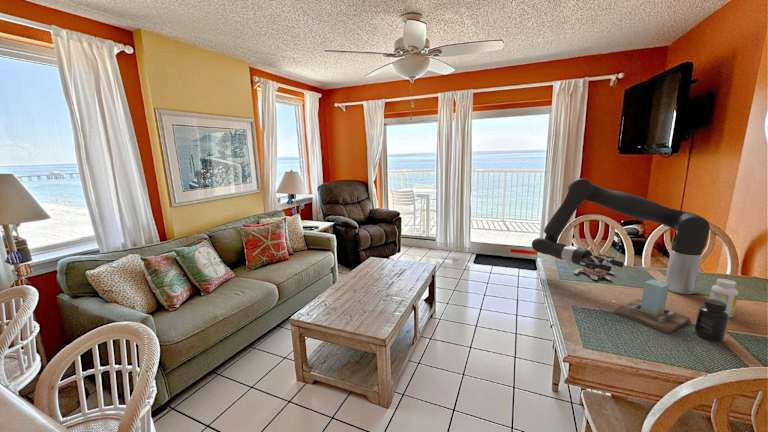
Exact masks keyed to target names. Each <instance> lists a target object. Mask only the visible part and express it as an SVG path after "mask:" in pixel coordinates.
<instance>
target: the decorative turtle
mask: <svg viewBox="0 0 768 432" xmlns="http://www.w3.org/2000/svg"><path fill="white" fill-rule="evenodd" d="M590 267H592V266H590ZM581 271H583V273H585V274H586V275H587V276H589V277H590V279H592V280H594V281H595V280H596V281H598V280H599V279H602V278H605V279H606V280H608V281H612V278H611V276H609V275H608V274H611V275H615V272H612V271H610V272H608V271H604V270H601V269H595V270H592V269H589V268H586V267H583V266H582V267H581V268H580V267H579V268H575V269H574V270H573V271H572V272H573V274H576V275H578V274H579V272H581Z"/></svg>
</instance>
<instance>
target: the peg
mask: <svg viewBox="0 0 768 432" xmlns="http://www.w3.org/2000/svg"><path fill="white" fill-rule="evenodd" d="M668 288H669V284H667V283H665V281H664V282H663V281H659V280H657V279H653V278H651V279H649V280H647V281H644V286H643V291H642V297H641V300H642V302H641V308H640V310H642V311H645V312H647V313H650V314H653V315H655V316H658V317H660V316H662V315H664V310H665V309H666V303H667V297H668V292H669V290H668Z"/></svg>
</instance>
